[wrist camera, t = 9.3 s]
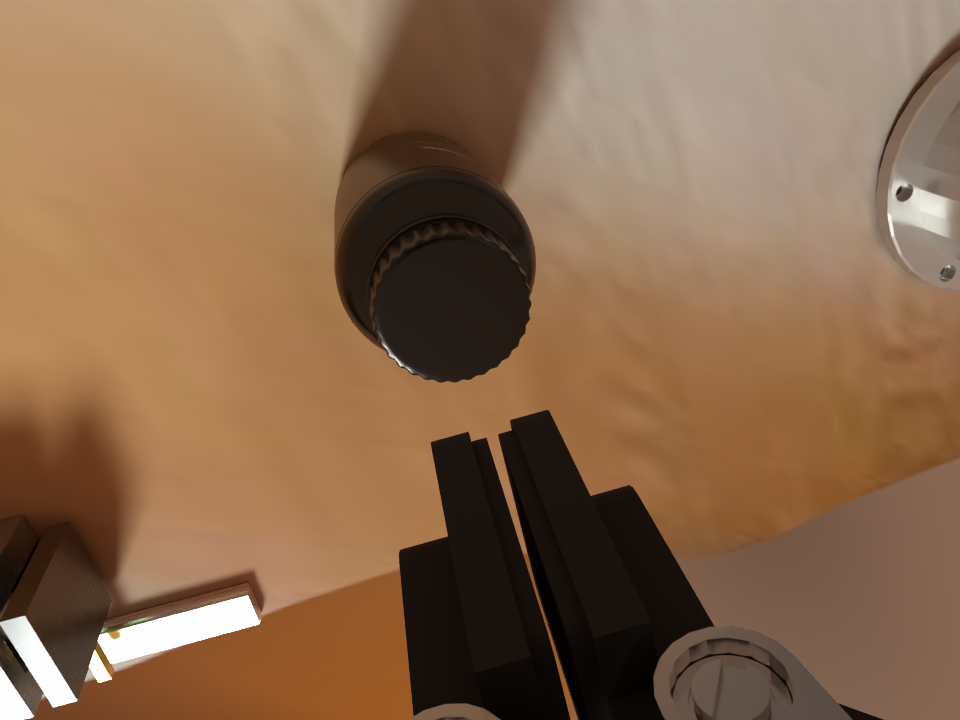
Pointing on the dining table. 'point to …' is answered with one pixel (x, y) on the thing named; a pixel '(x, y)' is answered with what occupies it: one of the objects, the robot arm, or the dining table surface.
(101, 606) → the plunger
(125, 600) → the dining table surface
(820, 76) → the dining table surface
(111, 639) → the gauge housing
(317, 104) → the dining table surface
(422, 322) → the supplement bottle
